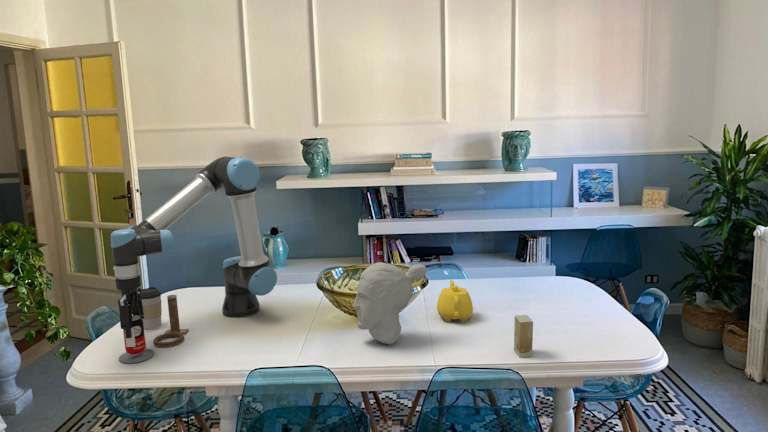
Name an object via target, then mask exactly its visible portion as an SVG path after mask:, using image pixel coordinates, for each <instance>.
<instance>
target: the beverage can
mask: <svg viewBox="0 0 768 432" xmlns="http://www.w3.org/2000/svg"><path fill="white" fill-rule="evenodd" d="M132 327H134V336H135V344H136V346H135V347H126V339H125V330H124V329H122V330H123V339H124V341H123V342H124V348H125V353H126V352H127V353H129V354H139V353H141V352H143V351H144V350H145V349H147V345H146V343H147V342H146V336H145V329H144V325H143V320H142V319H141V316H139V315H133V314H132Z"/></svg>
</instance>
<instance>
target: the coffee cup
mask: <svg viewBox="0 0 768 432" xmlns="http://www.w3.org/2000/svg"><path fill="white" fill-rule="evenodd" d="M161 295H162V292H161V290H158V288H157V287H155V286H150V287H148V288H146V287H145V288H143V289H142V288H141V298H142V305H143V312H144V315H142V316H144V319H142V320H143V325H144V330H148V331H149V330H150V331H151V330H155V329H156V330H157V329H159V328H160V327H161V326H162V315H163V314H162V296H161Z"/></svg>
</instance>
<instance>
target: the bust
mask: <svg viewBox="0 0 768 432" xmlns="http://www.w3.org/2000/svg"><path fill="white" fill-rule="evenodd" d="M426 274H427V266H425V265H423V264H419V263H416V264H413V265H411V266H410V267H409V268H408V270H407V271H406V272H405V271H404V270H403V269H401V268H400V267H398V266H396V265H395V264H391V263H386V262H383V261H381V262H378V261H377V262H375V263H373V264H371V265H369V266H367V267H366V268H365V269H364V270H363V271H362V272H361V274H360V278H359V280H358V283H357V288H356V295H355V300H354V302H353V304H352V306H353V308H354V309H355V310H356V315H357V319H358V321H357V328H358V329H360V330H368V333H369V335H371V337H372V339H373V340H376V341H378V342H380V343H381V344H384V345H385V344H386V345H392V344H394V343H395V342H397V340H398V339H399V338H400V335H401V332H402V325H401V323H400V311H401V309H402V308H404V307H405V306H406V305H407V304H408V302H409V301H410V300H411V298H412V296H413V293H414V287H413V283H412V282H414V281H419V280H422V279H423V278H425V276H426Z"/></svg>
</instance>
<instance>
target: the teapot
mask: <svg viewBox="0 0 768 432" xmlns="http://www.w3.org/2000/svg"><path fill="white" fill-rule="evenodd" d="M436 304H437V305H436V310H437V313H438V315H439V317H441V318H442V319H444V322H445V323H450V322H452V320H460V322H461V323H464V322H465V323H466V322H467V321H468V319H469V318H470V317H471V316H472V315H473V311H474V306H473V302H472V299H471V296H470V294H469V292H468V290H467V289H466V288H465V287H459V286H458V285H455V282H454V280H453V279H451V280H450V281H449V287H444V288H442V289H441V291H440V293H439V296H438V299H437V303H436Z"/></svg>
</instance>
